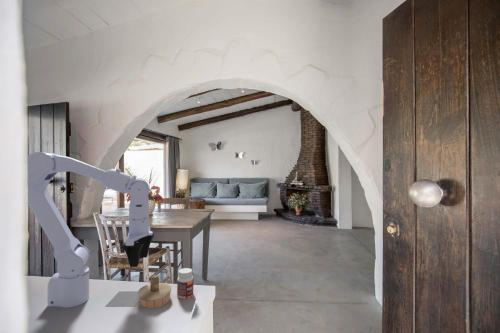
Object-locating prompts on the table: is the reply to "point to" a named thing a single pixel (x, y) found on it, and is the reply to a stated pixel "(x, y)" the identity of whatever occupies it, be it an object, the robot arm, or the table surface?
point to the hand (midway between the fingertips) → (139, 261)
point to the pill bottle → (185, 283)
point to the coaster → (125, 299)
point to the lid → (154, 290)
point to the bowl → (155, 302)
